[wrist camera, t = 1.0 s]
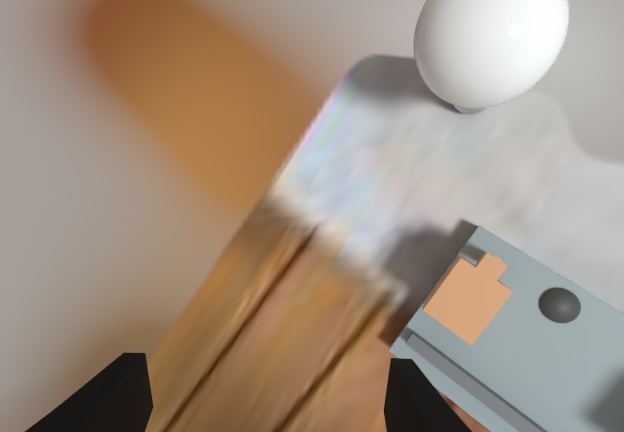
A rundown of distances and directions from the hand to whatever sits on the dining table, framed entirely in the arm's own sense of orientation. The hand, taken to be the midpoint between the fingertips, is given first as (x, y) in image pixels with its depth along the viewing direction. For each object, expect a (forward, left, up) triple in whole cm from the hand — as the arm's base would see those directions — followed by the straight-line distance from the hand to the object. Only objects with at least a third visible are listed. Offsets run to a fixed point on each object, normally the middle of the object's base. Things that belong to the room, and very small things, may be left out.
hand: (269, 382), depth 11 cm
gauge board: (-11, -3, -16) cm, 20 cm away
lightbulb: (+2, -15, -16) cm, 22 cm away
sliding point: (-5, -5, -14) cm, 16 cm away
